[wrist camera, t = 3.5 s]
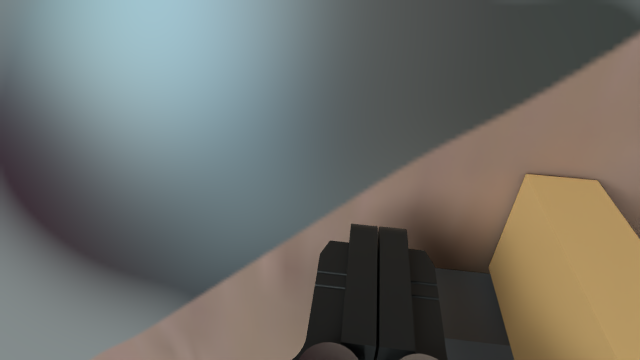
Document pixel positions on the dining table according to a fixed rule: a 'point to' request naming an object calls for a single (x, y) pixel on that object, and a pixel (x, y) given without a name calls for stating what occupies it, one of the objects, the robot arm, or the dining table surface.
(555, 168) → the dining table surface
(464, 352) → the dark gray rectangular block
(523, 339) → the yellow bent bar
